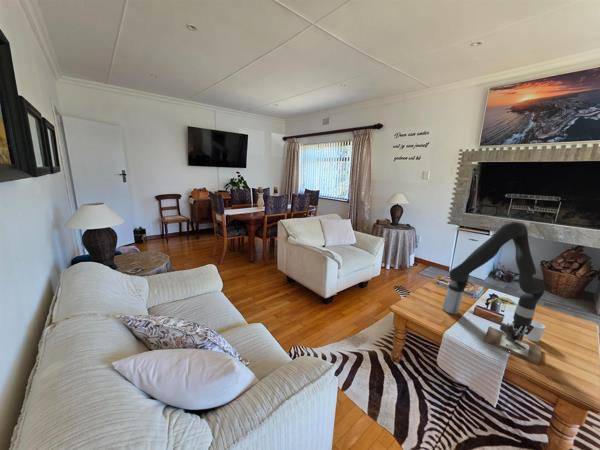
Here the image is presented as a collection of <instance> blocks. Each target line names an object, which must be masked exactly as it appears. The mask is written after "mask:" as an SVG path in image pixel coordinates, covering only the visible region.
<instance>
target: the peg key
mask: <svg viewBox="0 0 600 450" xmlns="http://www.w3.org/2000/svg"><path fill="white" fill-rule="evenodd" d="M499 330H500V331H502V332H505V333H506V334H507V336H506V339H507V340H511V341H513V340H512V339H511V335H512V334H511V333H510V332H509V331H508V327H507V323H504V322H503V323H500V327H499ZM522 335H523V334H522V333H520V332H518V334H517V337H516V340H518V341H519V340H521V338H522ZM513 342H514V343H516V344H518V345H519V346H521V347H522V348H524V349H526V348H525V347H524V346H522V345H521V344H519V343H517V342H516V341H513Z"/></svg>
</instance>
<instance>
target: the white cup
mask: <svg viewBox="0 0 600 450" xmlns="http://www.w3.org/2000/svg"><path fill="white" fill-rule="evenodd" d="M531 325H532V326H533V327H534V328H533V329H532V330H531V332H530V333H529V334H528V335H526V334H525V335H524V336H523V337H525V338H526V339H527V340H528V341H529V340H530V341H531V342H534V343H535V342H536V343H538V342H540V340H541V338H542V336H543V334H544V331H545V330H546V325H544V324H543V323H541V322H539V321H538V320H534V319H532V322H531ZM527 331H528V330H526V332H527Z"/></svg>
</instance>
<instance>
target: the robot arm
mask: <svg viewBox="0 0 600 450" xmlns="http://www.w3.org/2000/svg"><path fill="white" fill-rule="evenodd" d="M528 235H529V234H528V229H527V226H526V225H525V223H522V222H519V221H518V222H517V221H507V222H505V223H504V224H502V225H501V227H499V229H498V230H497V231H496V232H495V233H494V234H493V235H491V236H490V238H488V239H487V240H486V241H484V242H483V243H482V244H481V245H479V246H478V247H477V248H475V250H473V251H472V252H471V253H470V255H468V256H467V258H466V259H465V260H464V261H462V263H460V264H459V265H457V266H456V267H453V268H452V269H451V270H450V272H449V277H450V279H451V280H450V282H449V283H448V286H447V291H446V296H445V298H444V301H443V305H442V310H443V311H444V312H446V313H448V314H450V315H456V316H457V315H458V314H459V313H460V308H461V305H462V302H463V301H462V300H463V296H464V292H465V289H466V287H467V284H468V281H469V278H470V274H471V273H472V272H474V271H475V270H476V269H479V268H480V267H482V266H484V265H485V264H487V263H488V262H490V260H492V259H493V258H495V257H496V256H497V254H498V253H499V251H500V250H501V248H502V247H503V246H504V245H505V244H506V243H508V242H509V241H513V244H514V247H515V263H516V266H517V270H518V273H519V274H518V283H519V288H520V289H521V291H522V292H523V294H521V295H520V297H519V299H518V303H517V304H516V307H515V310H514V313H513V321H512V323H509V322H507V323H506V325H507V327H508V331H509V332H510V333H511V334H512V335H511V339H512V340H513V341H516V337H517V334H518V332H520V333H522V334H523V335H522V338H521V340H519V341H522V340H524V339H523V338H524V337H525V336H524V335H525V334H526V335H528V334H529V333H530V332H531V330H532V329H533V328H534V327H533V326H532V325H531V322H532V320H534V317H535V312H536V311H535V310H536V307H537V304H538V302H539V301H540V299H541V298H542V297H543V295H544V294H545V291H546V285H545V284H544V282H543V281H541V280H539V279H533V278H534V276H535V275H536V274H537V268H536V266H535V263H534V260H533V256H532V253H531V247H530V243H529V236H528ZM526 330H528V331H527V332H526Z"/></svg>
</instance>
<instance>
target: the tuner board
mask: <svg viewBox="0 0 600 450" xmlns="http://www.w3.org/2000/svg"><path fill="white" fill-rule="evenodd" d="M506 336H507V334H506V333H505V332H503V331H502V330H500V329H497V328H495V327H491V326H488V327H487V331H486V333H485V337H484V339H483V342H484V341H485V343H487V342H488V343H487V344H489V343H490V344H489V345H491V344H492V346H494V345H495V346H494V347H496V346H497V347H496V348H498V347H499V348H498V349H500V348H502V349H501V350H503V349H505V350H507V351H510V352H511V353H510V352H509V353H510V354H512V355H514V356H515V357H519V358H521V359H524V360H526V361H528V362H530V363H533V364H535V365H538V366H541V363H542V346H540V345H537V344H534V343H532V342H530V341H527V340H524V339H522V341H518V340H516V342H517V343H519V344H521V345H522V346H524V347H525V348H526V349H524V348H522V347H521V346H519V345H518V344H516V343H514V342H513V341H511V340H507V339H506ZM505 350H504V351H505ZM507 351H506V352H507Z"/></svg>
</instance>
